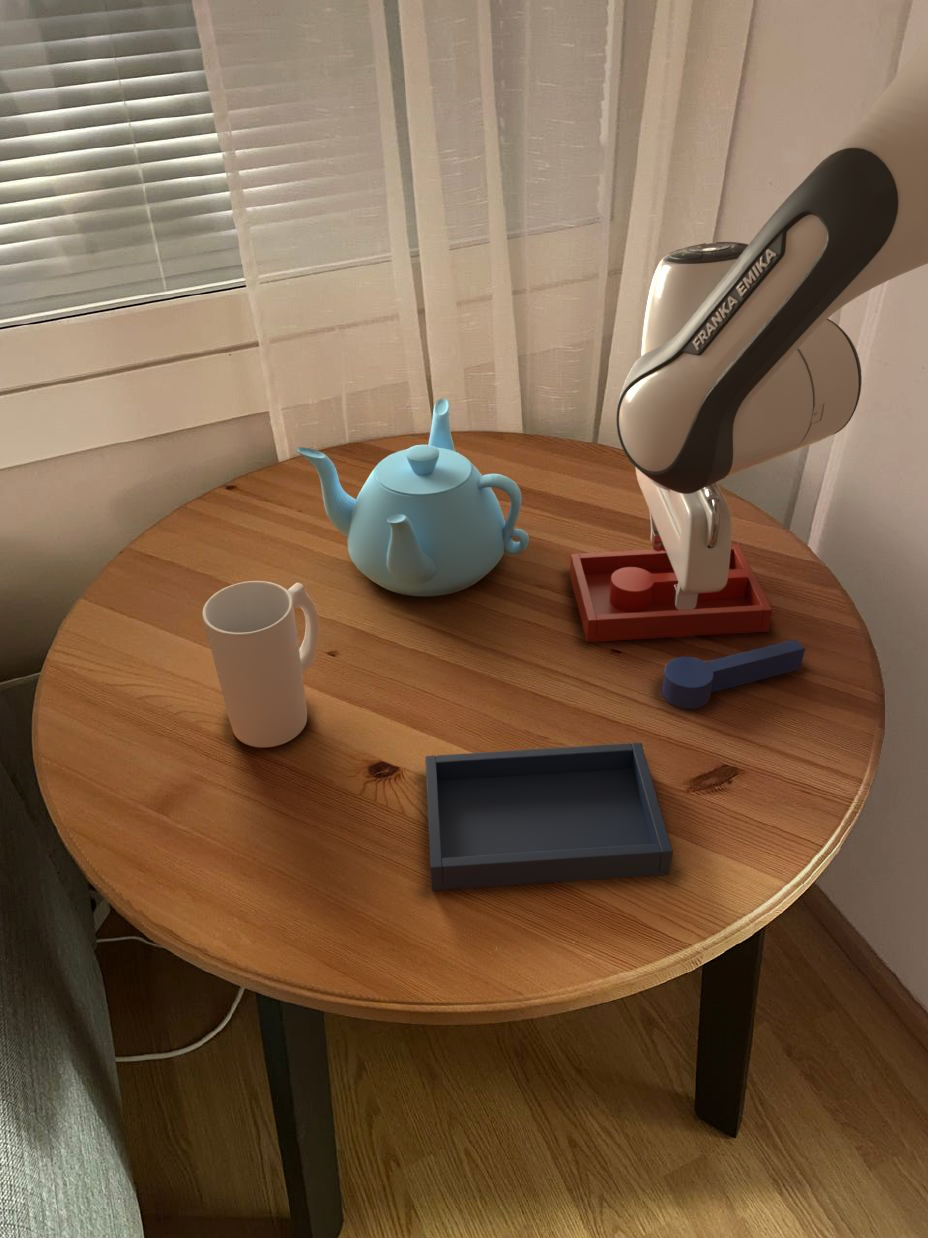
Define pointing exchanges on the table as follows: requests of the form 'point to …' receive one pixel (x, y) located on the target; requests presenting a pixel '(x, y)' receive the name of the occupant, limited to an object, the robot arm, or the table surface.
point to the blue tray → (543, 817)
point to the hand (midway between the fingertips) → (671, 575)
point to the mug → (262, 658)
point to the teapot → (424, 516)
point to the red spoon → (663, 588)
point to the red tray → (660, 617)
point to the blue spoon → (726, 672)
